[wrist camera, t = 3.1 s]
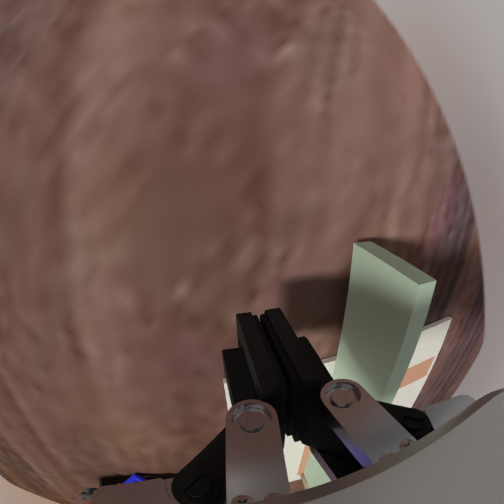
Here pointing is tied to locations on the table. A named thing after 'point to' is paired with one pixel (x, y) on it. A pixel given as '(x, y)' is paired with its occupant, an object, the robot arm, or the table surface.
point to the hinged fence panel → (381, 320)
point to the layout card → (405, 395)
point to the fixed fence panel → (313, 473)
